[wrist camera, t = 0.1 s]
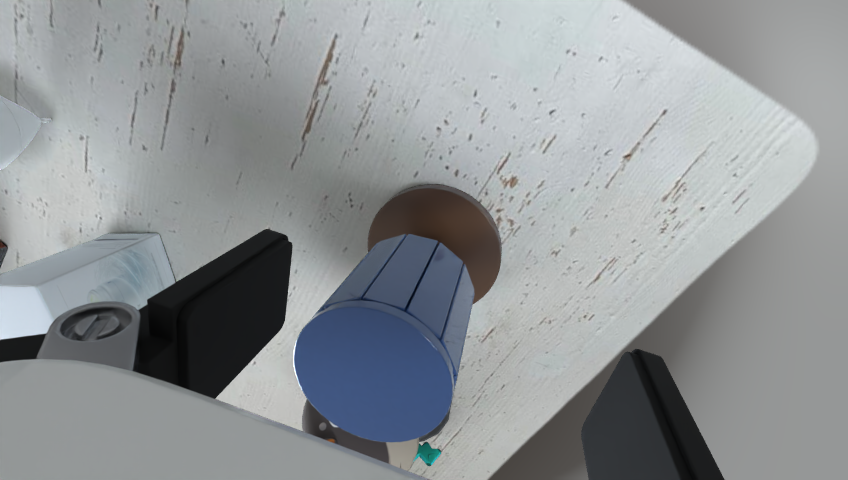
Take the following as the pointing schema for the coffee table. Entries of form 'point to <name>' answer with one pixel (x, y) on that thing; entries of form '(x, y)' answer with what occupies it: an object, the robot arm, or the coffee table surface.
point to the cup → (389, 341)
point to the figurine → (383, 451)
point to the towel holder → (445, 228)
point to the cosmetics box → (82, 281)
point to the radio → (2, 252)
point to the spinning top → (16, 130)
